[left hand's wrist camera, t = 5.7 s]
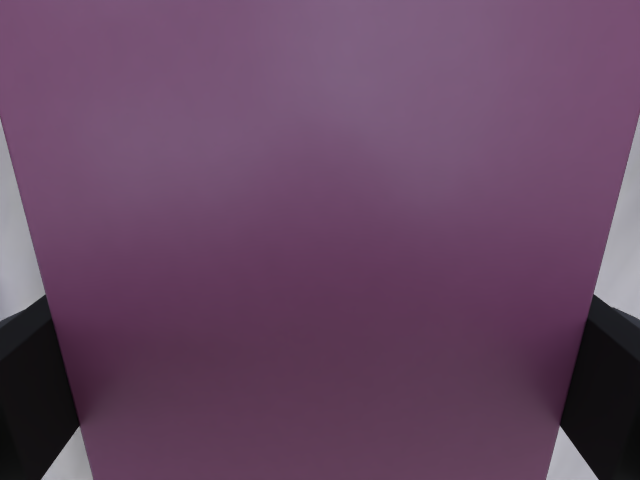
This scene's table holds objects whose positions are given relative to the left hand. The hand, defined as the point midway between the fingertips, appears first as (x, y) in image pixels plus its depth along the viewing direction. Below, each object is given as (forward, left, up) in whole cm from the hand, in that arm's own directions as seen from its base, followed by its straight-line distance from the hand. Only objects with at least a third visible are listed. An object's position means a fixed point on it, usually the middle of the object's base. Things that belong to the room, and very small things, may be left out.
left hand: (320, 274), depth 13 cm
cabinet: (0, +6, -6) cm, 9 cm away
